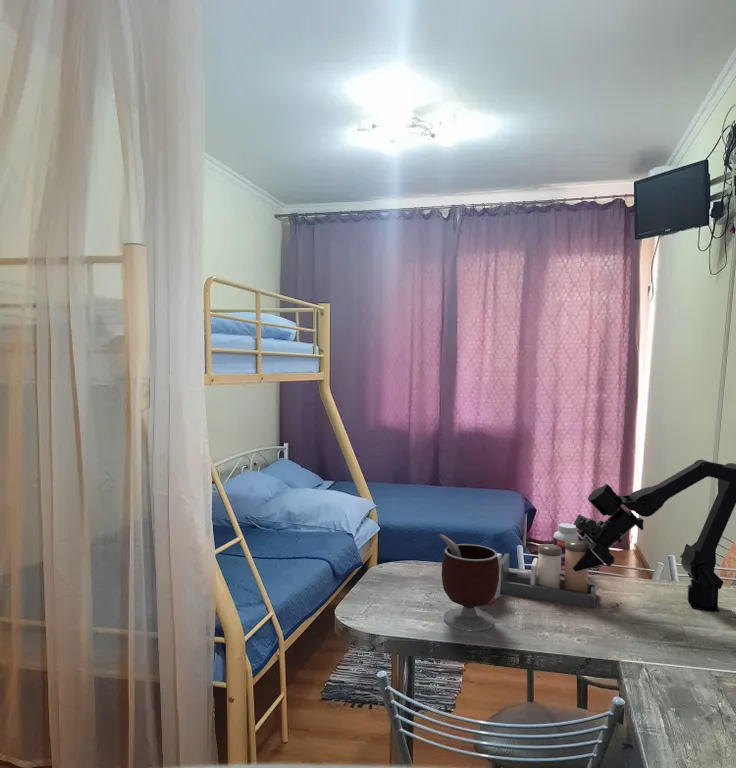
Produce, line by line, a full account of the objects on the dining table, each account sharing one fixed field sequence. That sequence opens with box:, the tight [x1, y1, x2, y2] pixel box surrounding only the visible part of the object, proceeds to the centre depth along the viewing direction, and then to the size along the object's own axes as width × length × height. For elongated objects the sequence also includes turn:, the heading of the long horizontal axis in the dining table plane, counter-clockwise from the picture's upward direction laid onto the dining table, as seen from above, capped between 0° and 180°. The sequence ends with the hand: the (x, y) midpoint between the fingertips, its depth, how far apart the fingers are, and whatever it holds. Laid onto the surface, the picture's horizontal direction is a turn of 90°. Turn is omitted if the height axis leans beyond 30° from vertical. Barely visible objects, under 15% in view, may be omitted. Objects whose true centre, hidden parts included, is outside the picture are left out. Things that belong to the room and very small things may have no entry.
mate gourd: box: [439, 533, 499, 632], centre depth 151 cm, size 16×14×20 cm
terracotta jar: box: [564, 540, 589, 594], centre depth 167 cm, size 6×6×13 cm
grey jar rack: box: [500, 553, 597, 609], centre depth 170 cm, size 25×10×8 cm, turn 68°
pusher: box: [516, 557, 538, 586], centre depth 172 cm, size 5×7×8 cm
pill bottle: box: [552, 522, 581, 576], centre depth 188 cm, size 8×8×14 cm
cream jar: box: [537, 543, 562, 590], centre depth 170 cm, size 6×6×13 cm
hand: (571, 566), depth 167 cm, fingers closed on terracotta jar, 6 cm apart
